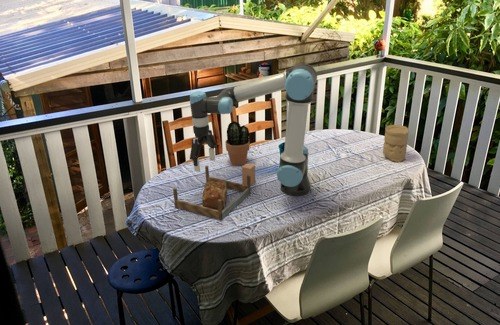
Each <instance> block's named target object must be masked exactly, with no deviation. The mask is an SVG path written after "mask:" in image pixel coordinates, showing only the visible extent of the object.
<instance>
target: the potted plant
mask: <svg viewBox="0 0 500 325" xmlns="http://www.w3.org/2000/svg"><path fill="white" fill-rule="evenodd" d="M226 138H227V139H226V140H225V150H226V152H227V154H228V158H229V161H230V164H231V165H232V166H236V167H237V166H239V167H240V166H244V165H245V164H246V163H247V158H248V153H249V150H250V131H249V128H248V127H247V126H245V125H244V124H243V125H242V126H241V124H240V123H239V122H237V121H235V120H233V121H231V122H230V123H229V124H228V125H227V129H226Z"/></svg>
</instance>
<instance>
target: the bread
mask: <svg viewBox="0 0 500 325" xmlns="http://www.w3.org/2000/svg"><path fill="white" fill-rule="evenodd" d="M226 181H227V180H226ZM226 181H225V179H222V180H217V179H215V180H210V181H209V182H207V183H206V182H205V185H204V187H203V192H202V199H201V200H202V206H203V207H207V208H211V209H215V210H218V200H219V199H220V200H221V201H222V210H224V209H225V208H226V207H225V206H226V201H227V192H228V191H227V190H228V189H227V182H226Z"/></svg>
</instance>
